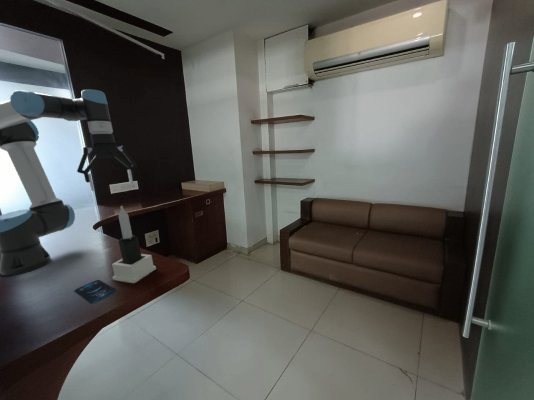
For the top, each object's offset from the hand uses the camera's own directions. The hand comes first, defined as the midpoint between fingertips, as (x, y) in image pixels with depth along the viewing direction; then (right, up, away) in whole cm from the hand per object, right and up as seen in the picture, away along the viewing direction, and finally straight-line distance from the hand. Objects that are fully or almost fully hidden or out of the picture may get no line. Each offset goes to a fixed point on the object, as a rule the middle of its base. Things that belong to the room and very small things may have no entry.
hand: (113, 187), depth 95 cm
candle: (+14, -32, -9) cm, 36 cm away
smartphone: (+6, -36, -18) cm, 40 cm away
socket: (+14, -33, -8) cm, 36 cm away
